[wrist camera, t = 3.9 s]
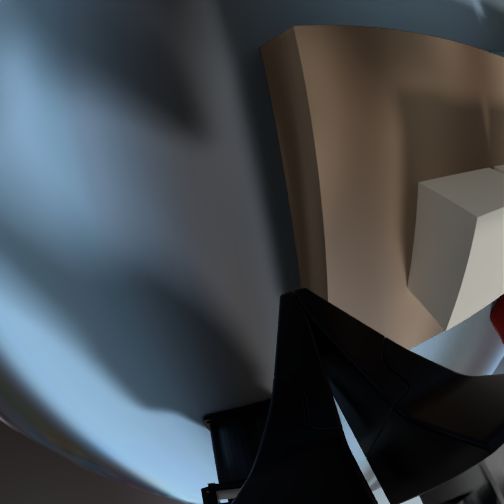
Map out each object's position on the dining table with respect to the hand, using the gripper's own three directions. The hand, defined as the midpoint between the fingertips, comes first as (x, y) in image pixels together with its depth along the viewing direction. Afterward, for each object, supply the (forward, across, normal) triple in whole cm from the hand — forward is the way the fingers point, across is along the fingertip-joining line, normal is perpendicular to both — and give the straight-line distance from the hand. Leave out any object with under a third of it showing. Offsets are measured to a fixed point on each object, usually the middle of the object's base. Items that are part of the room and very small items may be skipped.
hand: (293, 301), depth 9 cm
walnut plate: (+5, -10, 0) cm, 11 cm away
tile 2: (+1, -8, 0) cm, 8 cm away
